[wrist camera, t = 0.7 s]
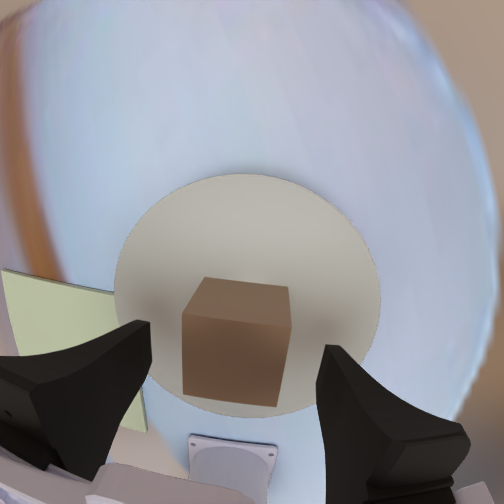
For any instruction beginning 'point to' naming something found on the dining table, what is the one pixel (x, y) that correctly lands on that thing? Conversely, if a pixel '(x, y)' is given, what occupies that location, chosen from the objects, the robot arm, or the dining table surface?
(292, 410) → the cover
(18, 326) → the mat
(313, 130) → the dining table surface
